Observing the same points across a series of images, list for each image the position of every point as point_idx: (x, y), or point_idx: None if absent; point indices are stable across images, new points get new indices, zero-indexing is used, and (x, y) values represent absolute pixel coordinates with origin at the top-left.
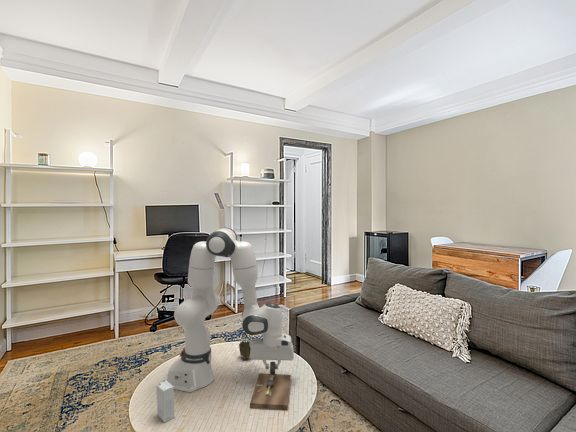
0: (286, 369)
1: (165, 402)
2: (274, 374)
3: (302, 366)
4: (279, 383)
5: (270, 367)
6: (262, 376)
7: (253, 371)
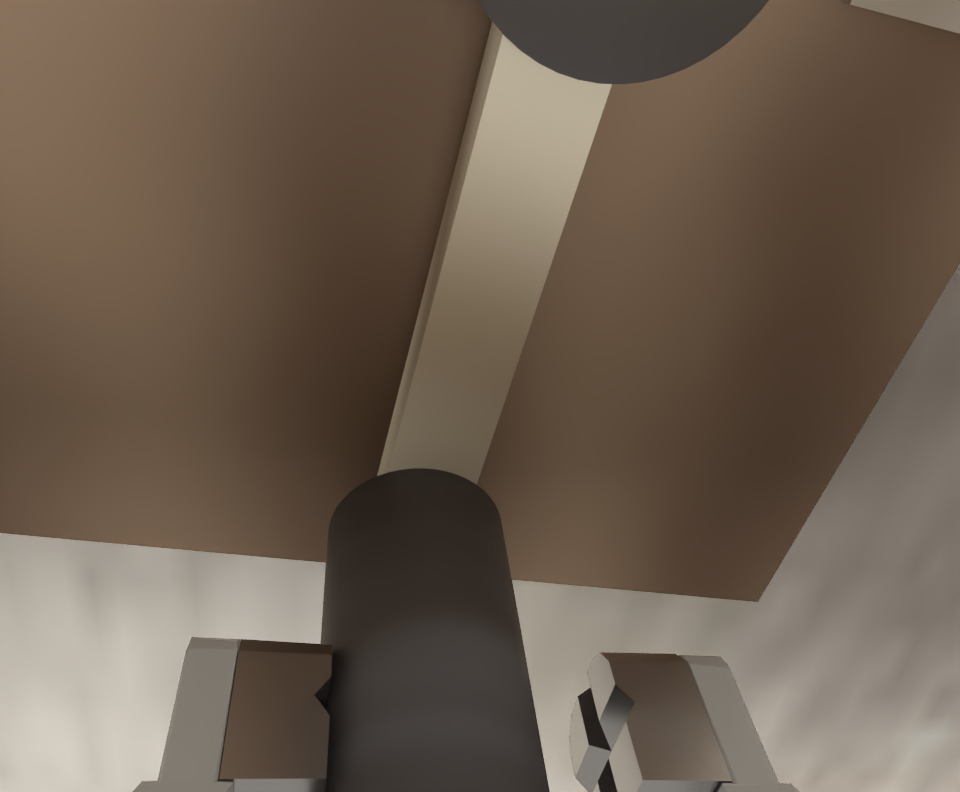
0: (66, 738)
1: None
2: None
3: None
4: (166, 45)
5: (529, 703)
6: (703, 478)
7: (768, 685)
